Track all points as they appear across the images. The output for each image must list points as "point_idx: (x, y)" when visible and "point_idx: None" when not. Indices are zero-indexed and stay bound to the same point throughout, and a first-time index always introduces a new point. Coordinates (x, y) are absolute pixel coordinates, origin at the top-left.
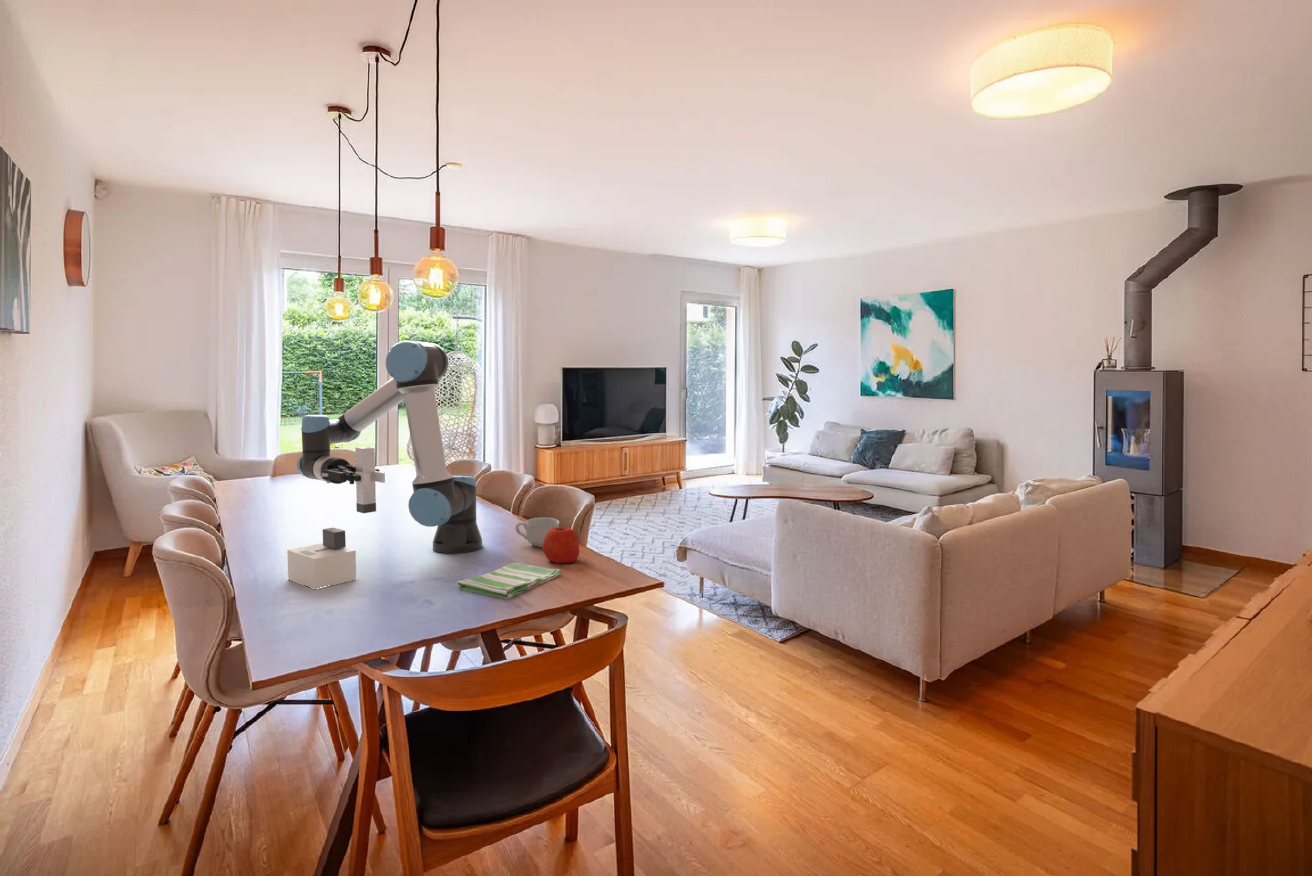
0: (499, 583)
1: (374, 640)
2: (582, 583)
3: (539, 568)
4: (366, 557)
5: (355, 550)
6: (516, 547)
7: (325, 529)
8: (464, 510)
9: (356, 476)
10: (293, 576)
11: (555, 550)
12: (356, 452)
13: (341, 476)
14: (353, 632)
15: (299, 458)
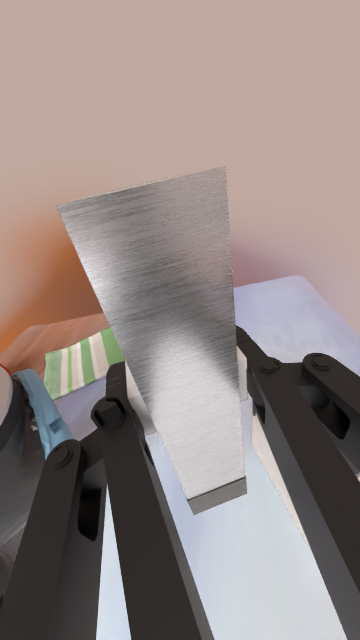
0: (110, 348)
1: (238, 293)
2: (61, 335)
3: (50, 365)
4: None
5: (252, 414)
6: None
7: (348, 463)
8: None
9: (239, 329)
10: None
11: (7, 370)
12: (221, 227)
13: (353, 430)
14: (252, 303)
15: None
